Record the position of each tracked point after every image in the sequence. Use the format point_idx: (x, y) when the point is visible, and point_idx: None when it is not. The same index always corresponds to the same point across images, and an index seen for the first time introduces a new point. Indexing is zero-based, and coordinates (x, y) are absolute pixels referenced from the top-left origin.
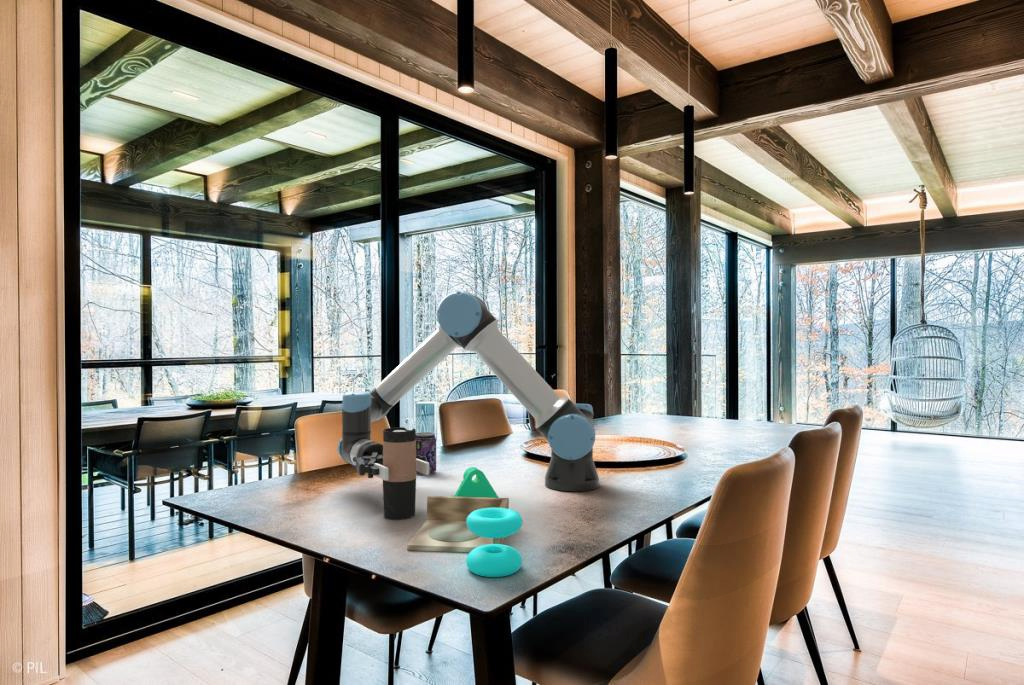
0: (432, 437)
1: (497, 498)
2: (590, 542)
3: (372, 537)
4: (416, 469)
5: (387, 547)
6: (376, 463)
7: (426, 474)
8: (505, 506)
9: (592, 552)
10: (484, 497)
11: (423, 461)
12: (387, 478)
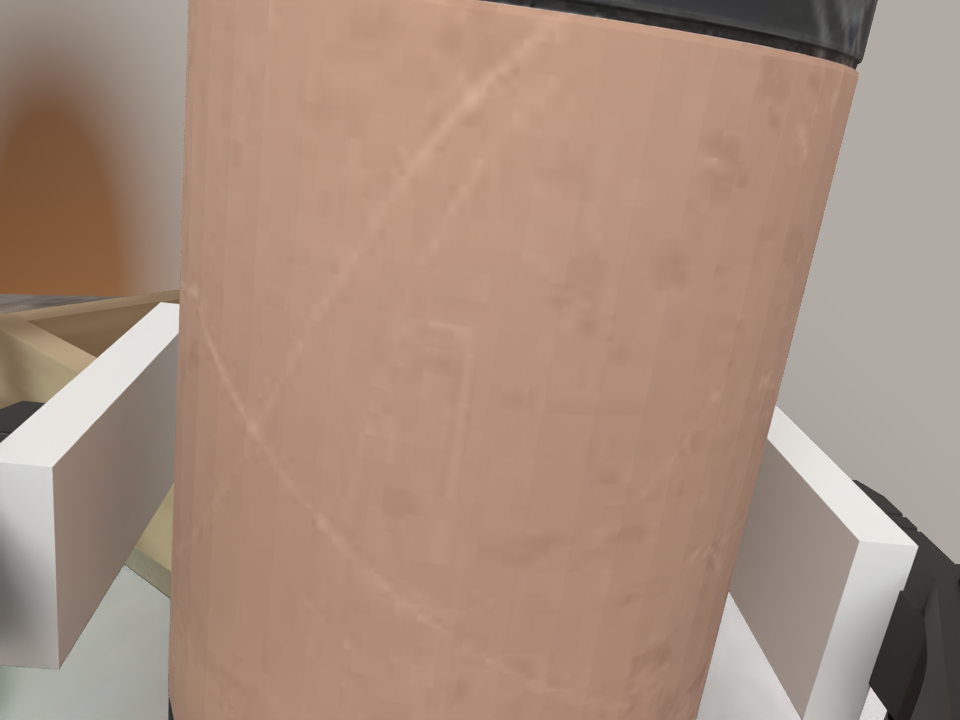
0: None
1: (26, 332)
2: (15, 311)
3: (746, 667)
4: (97, 580)
5: None
6: (869, 532)
7: None
8: (142, 295)
9: (106, 298)
10: (54, 359)
11: (140, 342)
12: None
